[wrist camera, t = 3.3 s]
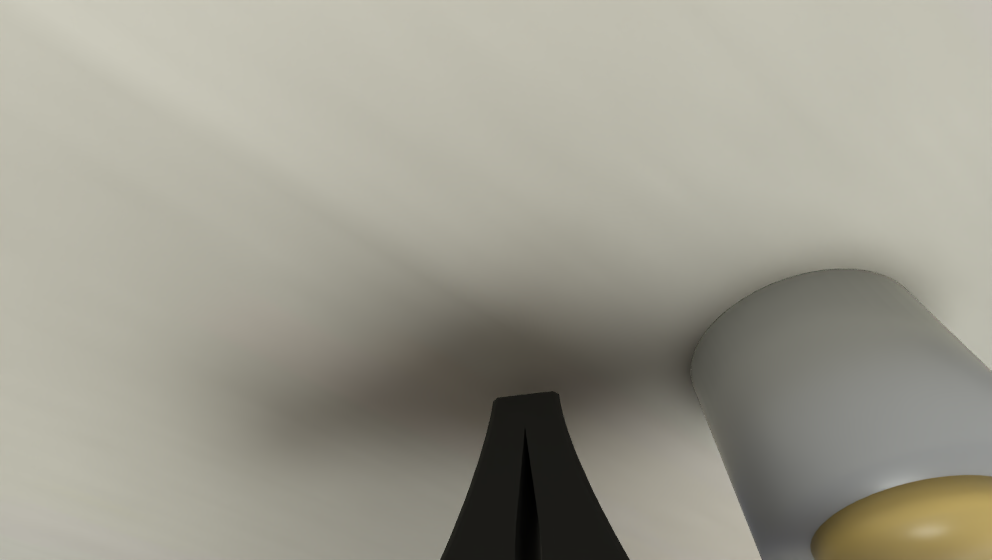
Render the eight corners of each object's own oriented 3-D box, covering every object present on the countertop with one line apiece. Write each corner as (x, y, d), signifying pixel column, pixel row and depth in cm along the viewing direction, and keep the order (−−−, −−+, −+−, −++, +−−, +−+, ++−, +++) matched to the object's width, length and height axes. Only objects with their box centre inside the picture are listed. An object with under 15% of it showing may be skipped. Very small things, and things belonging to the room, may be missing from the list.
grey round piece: (685, 430, 13) (755, 630, 10) (695, 285, 10) (802, 494, 7) (883, 409, 13) (1036, 614, 9) (951, 251, 10) (1216, 457, 6)
